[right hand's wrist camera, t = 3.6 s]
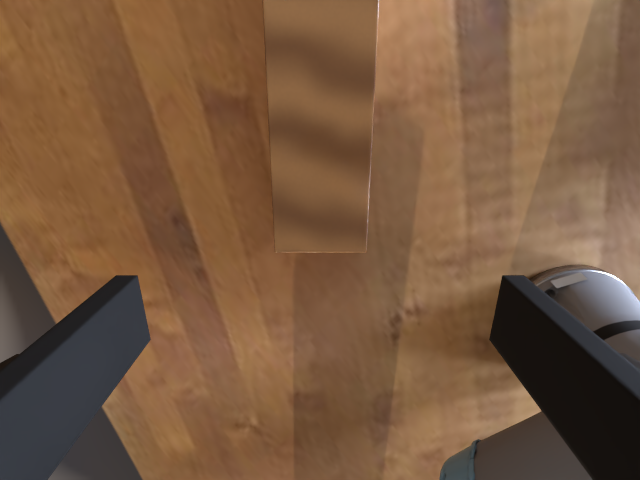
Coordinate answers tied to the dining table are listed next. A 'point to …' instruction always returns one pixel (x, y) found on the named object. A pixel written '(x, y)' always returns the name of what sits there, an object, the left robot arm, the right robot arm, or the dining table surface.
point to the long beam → (320, 121)
